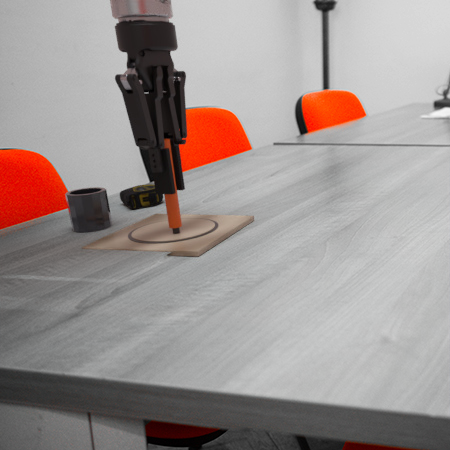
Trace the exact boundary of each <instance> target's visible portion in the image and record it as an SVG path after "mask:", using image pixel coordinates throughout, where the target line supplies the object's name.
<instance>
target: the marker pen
mask: <svg viewBox="0 0 450 450" xmlns="http://www.w3.org/2000/svg"><path fill="white" fill-rule="evenodd" d="M164 143H165V147H164V148H169V151H170V157H171V164H172V171H173V177H174V184H175V191H176V193H175V194H163V197H164V203H165V209H166V214H167V216H168V223H169V228H172V230H173V234H178V233H180V229H179V227H181V226H182V222H181V215H180V214H181V208H180V202H179V194H178V190H177V187H176V180H175V173H174V166H173V159H172V151H171V144H170V139H164Z"/></svg>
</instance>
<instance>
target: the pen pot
mask: <svg viewBox="0 0 450 450" xmlns="http://www.w3.org/2000/svg"><path fill="white" fill-rule="evenodd" d="M64 196H65V200H66V201H65V202H66V206H67V210H68V216H69V220H70V225H71V231H73V232H74V233H77V234H78V233H79V234H80V233H82V234H83V233H85V234H87V233H95V232H100V231H103V230H104V231H105V230H106V229H109V228H111V227H112V226H113V220H112V214H111V209H110V203H109V202H110V201H109V198H108V193H107V188H106V187H99V186H97V187H95V186H94V187H83V188H78V189H73V190H72V189H71V190H70V191H66V193H64Z"/></svg>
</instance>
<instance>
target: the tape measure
mask: <svg viewBox="0 0 450 450" xmlns="http://www.w3.org/2000/svg"><path fill="white" fill-rule="evenodd" d="M119 198H120V199H119V200H120V201H121V202H122V204H124V205H126V206H128V208H129V209H131V210H137V209H143V208H144V209H145V208H150V207H155V206H158V205H160V204H161V203H162V202H163V199H164V194H156V191H155V185H154V183H153V184H151V183H150V184H149V183H148V184H139V185H135V186H132V187H131V186H130V187H129V188H126V189H123V190H120V192H119Z"/></svg>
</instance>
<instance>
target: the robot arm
mask: <svg viewBox="0 0 450 450" xmlns="http://www.w3.org/2000/svg"><path fill="white" fill-rule="evenodd" d="M109 2H110V9H111V15H112V16H111V17H112V18H114V19H115V20H118V22H117V23H115V25H114V31H115V38H116V41H117V48H118V50H119V51H120V52H122V53H126V57H127V59H126V70H125V72H124V73H121V74H117V73H116V74H115V77H114V80H115V83H116V85H117V87H118V88H119V90H120V92H121V95H122V99H123V103H124V107H125V110H126V114H127V118H128V122H129V125H130V128H131V132H132V136H133V139H134V140H133V141H134V144H135V146H136V147H138V148H139V149H140V150H147V152H148V158H149V164H150V170H151V172H152V178H153V184H154V185H155V191H156V194H163V195H164V194H175V193H176V191H175V184H174V177H173V171H172V164H171V157H170V151H169V148H164V147H165V143H164V139H170V144H171V151H172V159H173V166H174V173H175V180H176V187H177V191H184V190H186V187H185V180H184V172H183V165H182V157H181V150H180V146H181V145H186V143H187V137H188V127H187V126H188V125H187V108H186V89H185V88H186V87H185V86H186V80H187V74H186V72H185V70H178V69H176V68H175V63H174V61H173V58H172V55H171V52H175V51H177V50H178V47H179V46H178V45H179V44H178V38H177V31H176V25H175V24H174V23H173V22H171V21H170V19H172V18H173V17H174V12H173V7H172V6H173V5H172V0H109Z"/></svg>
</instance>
